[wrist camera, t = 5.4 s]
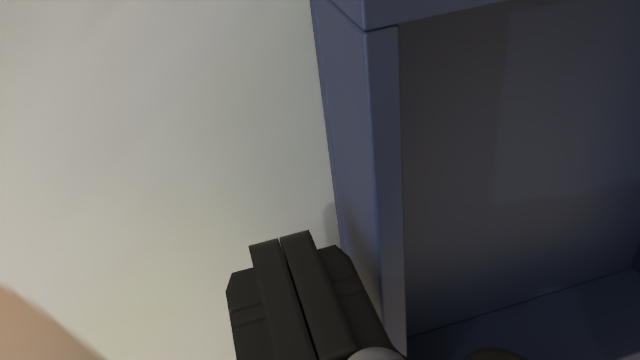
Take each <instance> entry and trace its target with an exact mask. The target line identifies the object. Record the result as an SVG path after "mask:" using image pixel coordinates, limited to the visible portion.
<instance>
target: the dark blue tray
mask: <svg viewBox="0 0 640 360" xmlns="http://www.w3.org/2000/svg"><path fill="white" fill-rule="evenodd" d="M310 6H311V14H312V22H313V30H314V38H315V46H316V54H317V62H318V69H319V77H320V85H321V93H322V101H323V109H324V117H325V125H326V133H327V141H328V149H329V157H330V165H331V173H332V180H333V188H334V196H335V204H336V212H337V220H338V228H339V236H340V244H341V250H342V251H343V252H345V253H346V254H347V255H348V256H350V258H351V260H352V262H353V264H354V266H355V268H356V270H357V273H358V276H359V277H360V279H361V281H362V283H363V285H364V288H365V290H366V291H367V293H368V296H369V298H370V300H371V302H372V304H373V306H374V308H375V310H376V312H377V314H378V316H379V319H380V321H381V323H382V325H383V327H384V329H385V331H386V333H387V335H388V337H389V339H390V341H391V343H392V345H393V346H394V347H395V348H396V349H397V350H398V351H399V352H400V353H401V354H403V355H404V356H406V357H407V358H409V359H411V360H463V359H464V358H465V357H466V356H467V355H468V354H469V353H471V352H472V351H474V350H477V349H479V348H484V347H498V348H502V349H506V350H509V351H511V352H513V353H516V354H518V355H520V356H522V357H524V358H527V359H529V360H640V0H310Z"/></svg>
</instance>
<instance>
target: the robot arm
mask: <svg viewBox="0 0 640 360" xmlns="http://www.w3.org/2000/svg"><path fill="white" fill-rule="evenodd" d="M280 244H281V246H280ZM249 250H250V254H251V258H252V262H253V268H249V269H245V270H242V271H238V272H235V273H232V274H231V277H230V280H229V283H228V286H227V289H226V297H227V303H228V309H229V315H230V321H231V326H232V333H233V339H234V345H235V351H236V358H237V360H411V359H409V358H407V357H406V356H404V355H403V354H401V353H400V352H399V351H398V350H397V349H396V348H395V347H394V346H393V345H392V343H391V341H390V339H389V337H388V335H387V333H386V331H385V329H384V327H383V325H382V323H381V321H380V319H379V316H378V314H377V312H376V310H375V308H374V306H373V304H372V302H371V300H370V298H369V296H368V293H367V291H366V290H365V288H364V285H363V283H362V281H361V279H360V277H359V276H358V273H357V270H356V268H355V266H354V264H353V262H352V260H351V258H350V256H348V255H347V254H346V253H345V252H343V251H342V250H341V249H339V248H338V247H337V246H336V245H333V246H329V247H325V248H322V249H318V250H317V248H316V246H315V243H314V241H313V239H312V236H311V234H310V232H309V230H306V231H302V232H298V233H295V234H291V235H287V236H283V237H280V243H279V240H278V238H276V239H273V240H269V241H265V242H261V243H258V244H254V245H250V246H249ZM463 360H529V359H527V358H524V357H522V356H520V355H518V354H516V353H513V352H511V351H509V350H506V349H502V348H498V347H484V348H479V349H477V350H474V351H472V352H471V353H469V354H468V355H467V356H466V357H465V358H464V359H463Z"/></svg>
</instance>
